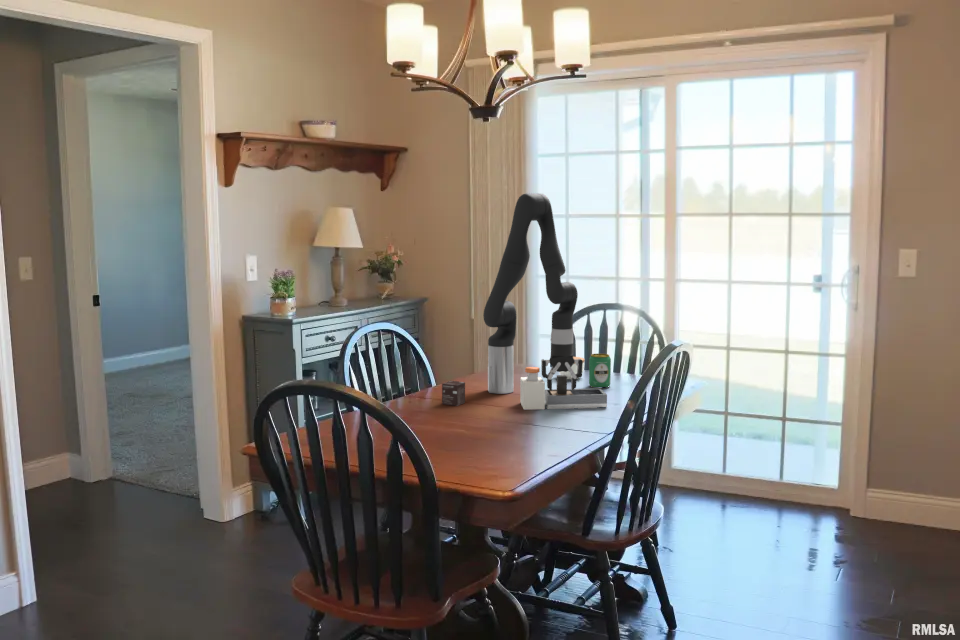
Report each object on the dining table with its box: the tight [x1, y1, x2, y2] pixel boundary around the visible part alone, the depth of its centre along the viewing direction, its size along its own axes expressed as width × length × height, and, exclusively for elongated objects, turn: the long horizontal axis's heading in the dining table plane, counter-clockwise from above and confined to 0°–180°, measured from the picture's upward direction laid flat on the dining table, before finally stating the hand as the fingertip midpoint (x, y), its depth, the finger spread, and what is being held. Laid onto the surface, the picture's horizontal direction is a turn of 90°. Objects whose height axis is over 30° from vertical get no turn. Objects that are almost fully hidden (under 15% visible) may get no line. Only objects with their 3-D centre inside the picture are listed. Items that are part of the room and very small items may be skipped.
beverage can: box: [588, 353, 612, 388], centre depth 310 cm, size 8×8×12 cm
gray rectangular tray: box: [545, 388, 608, 410], centre depth 280 cm, size 20×10×4 cm, turn 94°
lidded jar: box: [558, 356, 586, 380], centre depth 327 cm, size 11×11×9 cm
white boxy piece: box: [519, 376, 546, 410], centre depth 279 cm, size 7×10×9 cm
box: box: [441, 380, 466, 407], centre depth 283 cm, size 6×6×7 cm
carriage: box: [550, 374, 573, 395], centre depth 279 cm, size 7×7×8 cm
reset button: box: [524, 366, 541, 381], centre depth 278 cm, size 5×5×5 cm
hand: (561, 389), depth 279 cm, fingers open, 7 cm apart
